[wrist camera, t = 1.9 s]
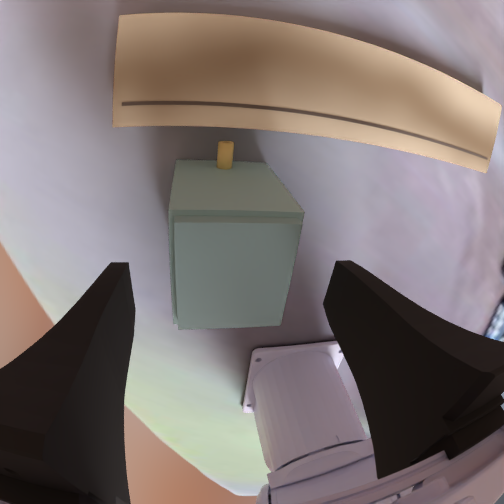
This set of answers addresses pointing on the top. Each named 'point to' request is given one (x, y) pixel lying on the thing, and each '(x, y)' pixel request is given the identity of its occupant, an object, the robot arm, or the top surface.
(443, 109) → the plank
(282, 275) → the green box with tab
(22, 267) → the top surface
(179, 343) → the top surface
